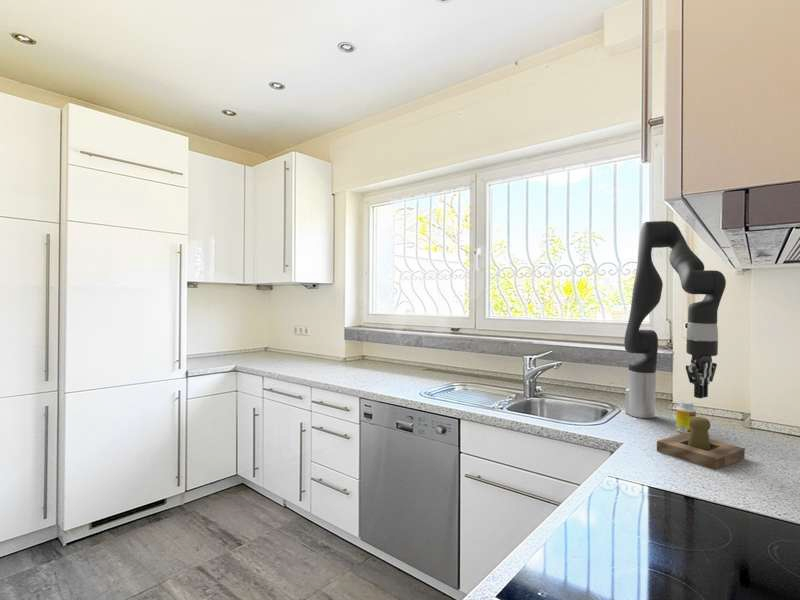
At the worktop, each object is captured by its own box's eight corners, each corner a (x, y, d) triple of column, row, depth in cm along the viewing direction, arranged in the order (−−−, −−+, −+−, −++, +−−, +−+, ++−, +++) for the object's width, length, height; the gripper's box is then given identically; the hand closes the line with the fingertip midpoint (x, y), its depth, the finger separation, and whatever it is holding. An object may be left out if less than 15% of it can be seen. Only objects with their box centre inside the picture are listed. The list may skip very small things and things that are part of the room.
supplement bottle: (690, 435, 144) (691, 405, 143) (672, 430, 148) (673, 401, 148) (698, 432, 146) (699, 402, 146) (681, 428, 151) (681, 399, 151)
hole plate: (656, 450, 129) (656, 440, 129) (684, 441, 138) (684, 432, 138) (717, 470, 116) (717, 459, 116) (744, 458, 124) (744, 448, 124)
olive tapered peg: (687, 449, 131) (688, 413, 131) (712, 454, 127) (713, 417, 127) (685, 455, 126) (686, 417, 126) (710, 460, 122) (711, 422, 122)
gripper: (699, 336, 133) (698, 392, 133) (675, 338, 126) (674, 397, 126) (728, 338, 126) (726, 397, 127) (704, 341, 119) (703, 403, 120)
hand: (700, 397), depth 126 cm, fingers closed
